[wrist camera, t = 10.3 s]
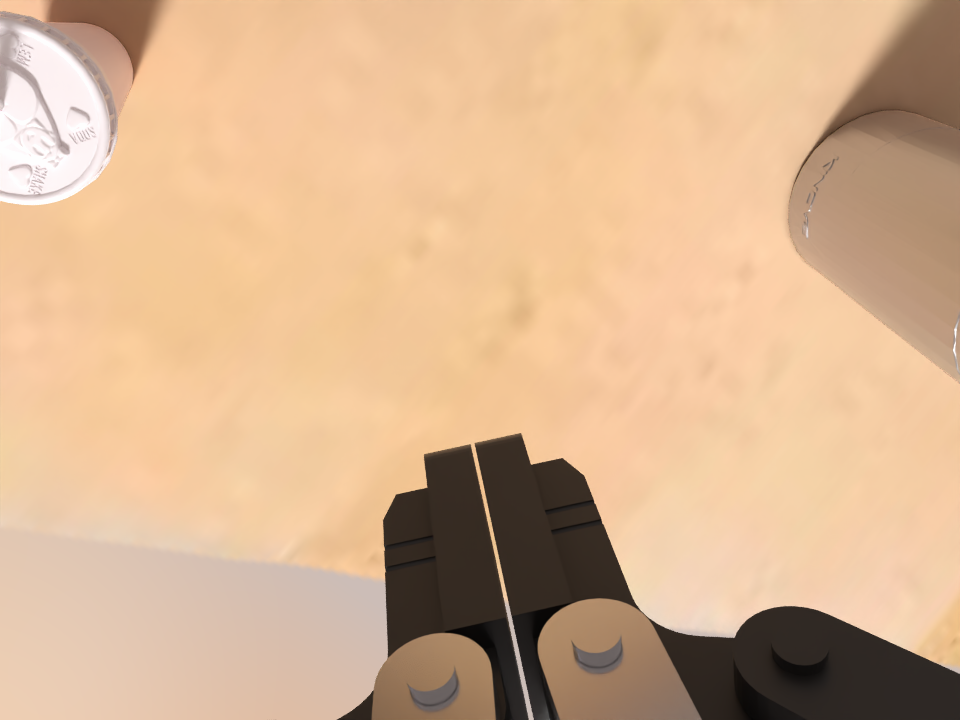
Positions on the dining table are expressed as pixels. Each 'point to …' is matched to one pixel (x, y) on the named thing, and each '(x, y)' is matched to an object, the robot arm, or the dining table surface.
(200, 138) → the dining table surface
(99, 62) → the smoothie
